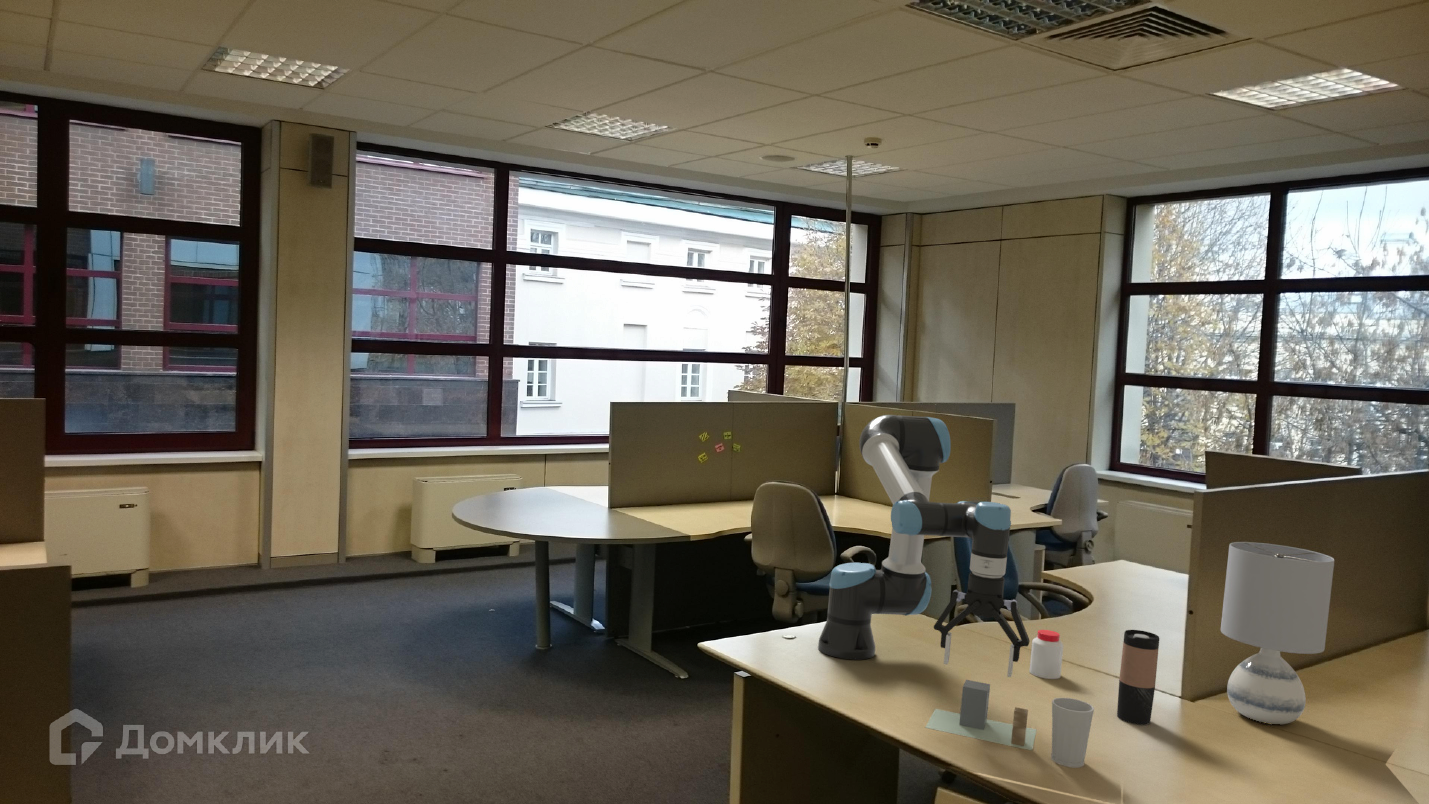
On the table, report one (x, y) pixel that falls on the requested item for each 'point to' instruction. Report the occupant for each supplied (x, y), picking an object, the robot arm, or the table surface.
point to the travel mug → (1137, 676)
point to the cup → (1070, 731)
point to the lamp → (1274, 624)
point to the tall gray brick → (974, 704)
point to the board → (991, 732)
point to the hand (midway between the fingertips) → (977, 669)
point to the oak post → (1019, 726)
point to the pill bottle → (1046, 655)
